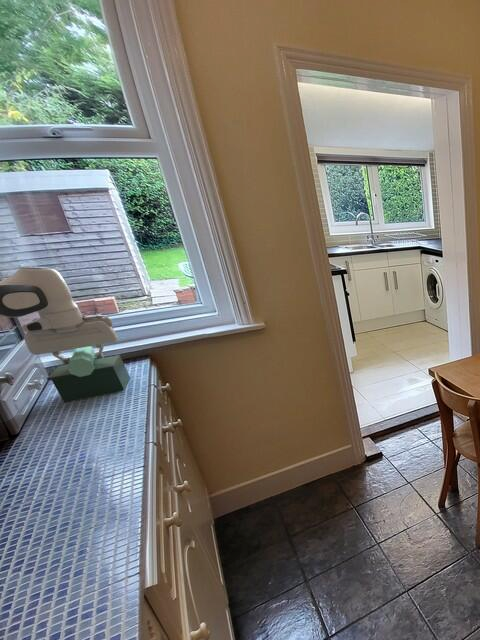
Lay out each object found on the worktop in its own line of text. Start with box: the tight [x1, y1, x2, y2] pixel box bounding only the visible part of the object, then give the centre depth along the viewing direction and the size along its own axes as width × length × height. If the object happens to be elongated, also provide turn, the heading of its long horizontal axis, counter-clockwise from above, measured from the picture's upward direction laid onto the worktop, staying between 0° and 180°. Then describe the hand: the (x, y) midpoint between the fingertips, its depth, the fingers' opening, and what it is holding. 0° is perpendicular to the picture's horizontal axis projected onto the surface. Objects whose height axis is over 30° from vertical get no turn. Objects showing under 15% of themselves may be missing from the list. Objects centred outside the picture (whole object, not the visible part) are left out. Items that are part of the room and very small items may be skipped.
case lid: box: [46, 354, 121, 381], centre depth 134 cm, size 15×14×1 cm
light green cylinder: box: [67, 346, 96, 377], centre depth 133 cm, size 6×6×25 cm
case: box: [51, 356, 131, 403], centre depth 136 cm, size 15×14×8 cm
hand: (84, 360), depth 133 cm, fingers open, 7 cm apart
